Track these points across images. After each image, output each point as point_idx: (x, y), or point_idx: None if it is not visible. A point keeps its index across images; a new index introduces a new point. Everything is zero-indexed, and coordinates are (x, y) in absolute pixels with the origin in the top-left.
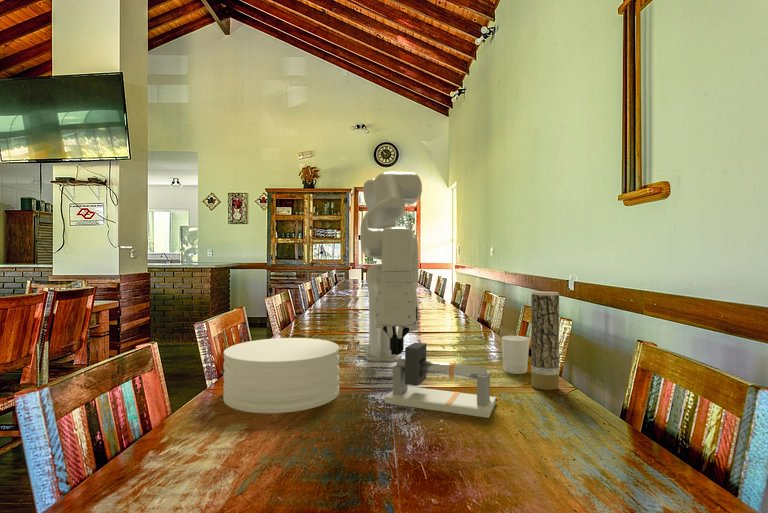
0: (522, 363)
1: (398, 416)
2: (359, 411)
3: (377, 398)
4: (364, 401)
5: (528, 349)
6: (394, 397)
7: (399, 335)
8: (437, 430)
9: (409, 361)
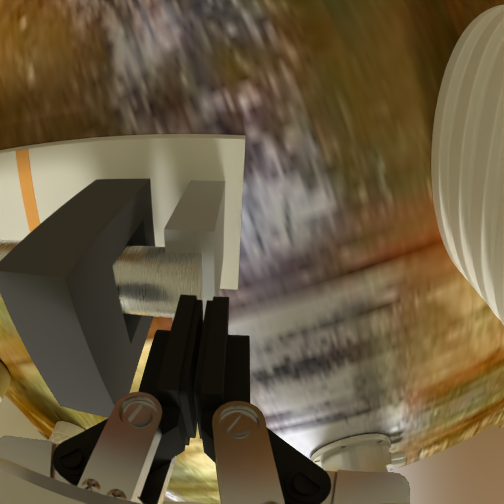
0: (51, 435)
1: (150, 30)
2: (306, 25)
3: (290, 178)
4: (327, 131)
5: None
6: (203, 144)
7: (139, 420)
8: (29, 7)
9: (80, 226)
